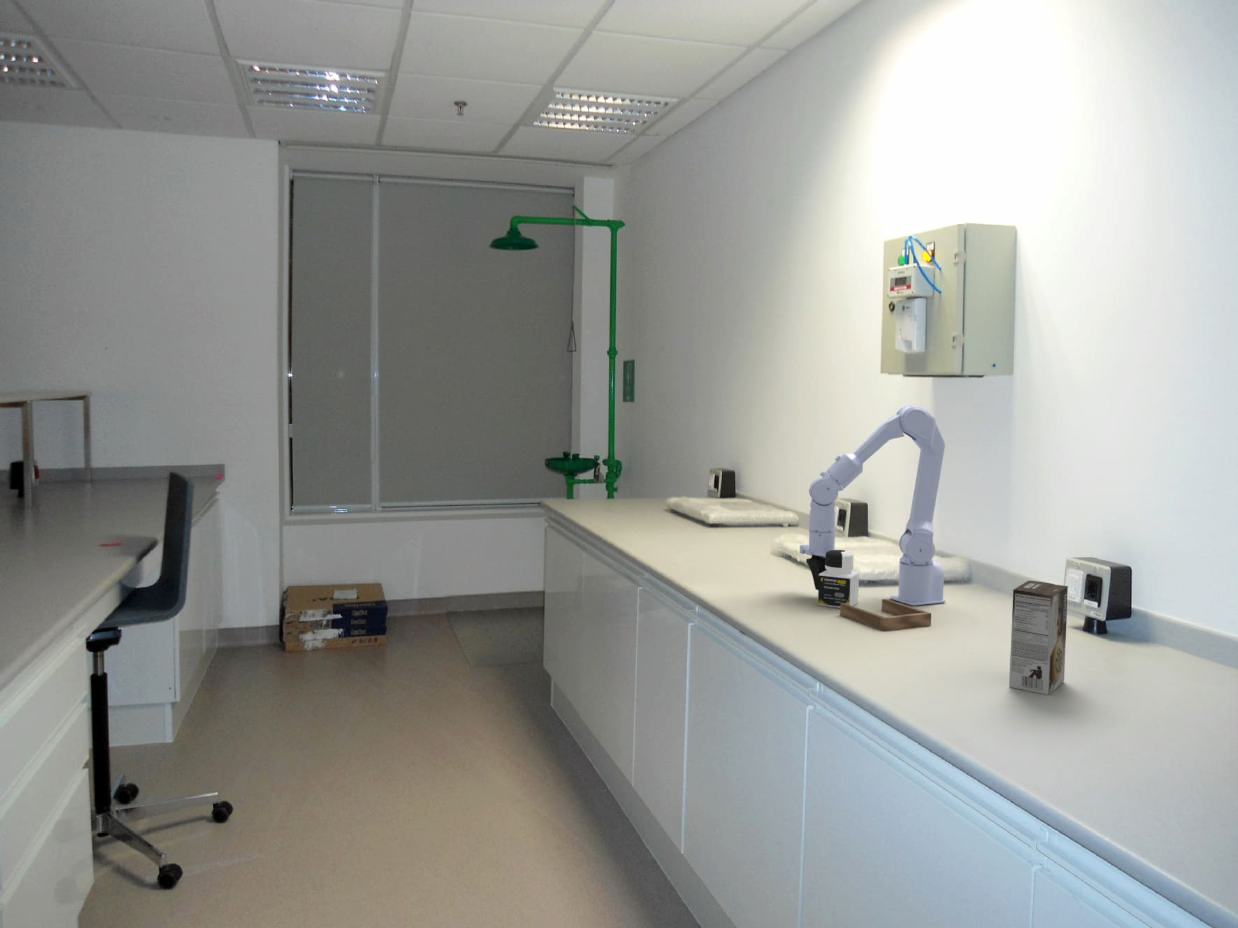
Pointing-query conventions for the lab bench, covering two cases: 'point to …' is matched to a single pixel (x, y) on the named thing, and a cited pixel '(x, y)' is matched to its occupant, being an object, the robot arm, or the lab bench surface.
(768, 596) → the lab bench surface
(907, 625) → the frame
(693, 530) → the lab bench surface
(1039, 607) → the coffee box
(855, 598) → the medicine bottle
